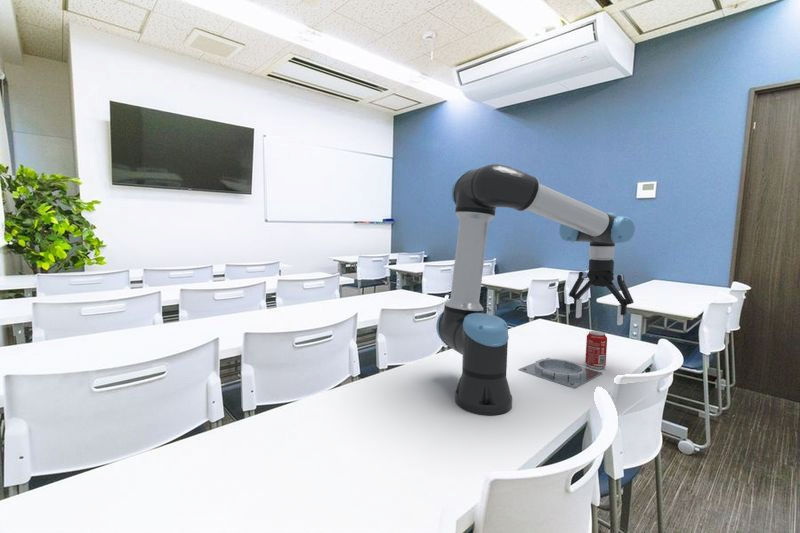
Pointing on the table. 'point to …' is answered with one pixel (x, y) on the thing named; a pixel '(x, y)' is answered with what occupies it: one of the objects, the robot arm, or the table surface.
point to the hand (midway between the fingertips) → (598, 320)
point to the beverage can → (596, 350)
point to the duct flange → (561, 372)
